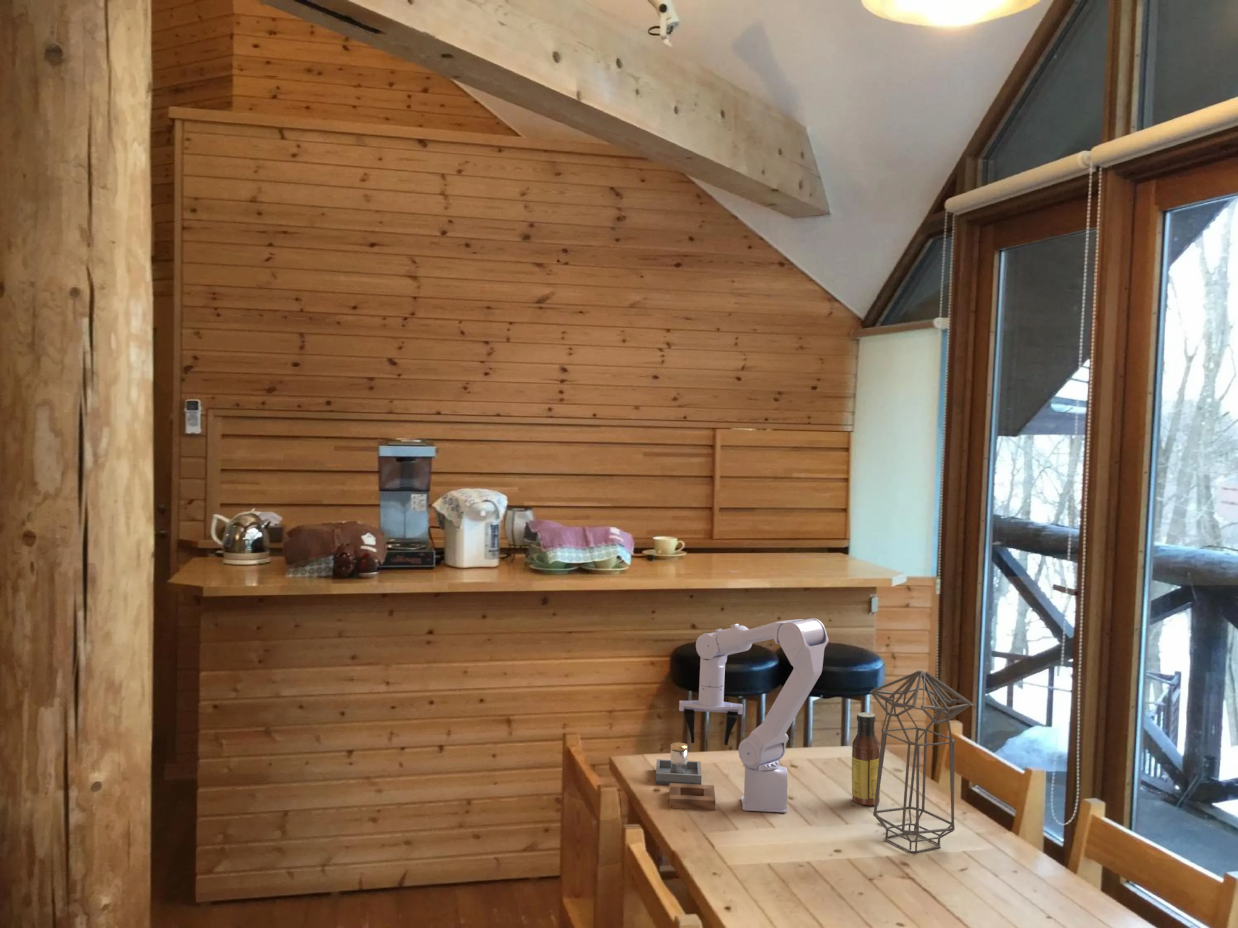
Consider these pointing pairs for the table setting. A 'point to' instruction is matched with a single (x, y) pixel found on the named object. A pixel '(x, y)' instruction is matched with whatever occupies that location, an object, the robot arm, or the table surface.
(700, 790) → the block
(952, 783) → the geometric lantern
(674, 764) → the gold and silver cylinder
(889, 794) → the table surface
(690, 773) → the tray
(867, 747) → the sauce bottle
